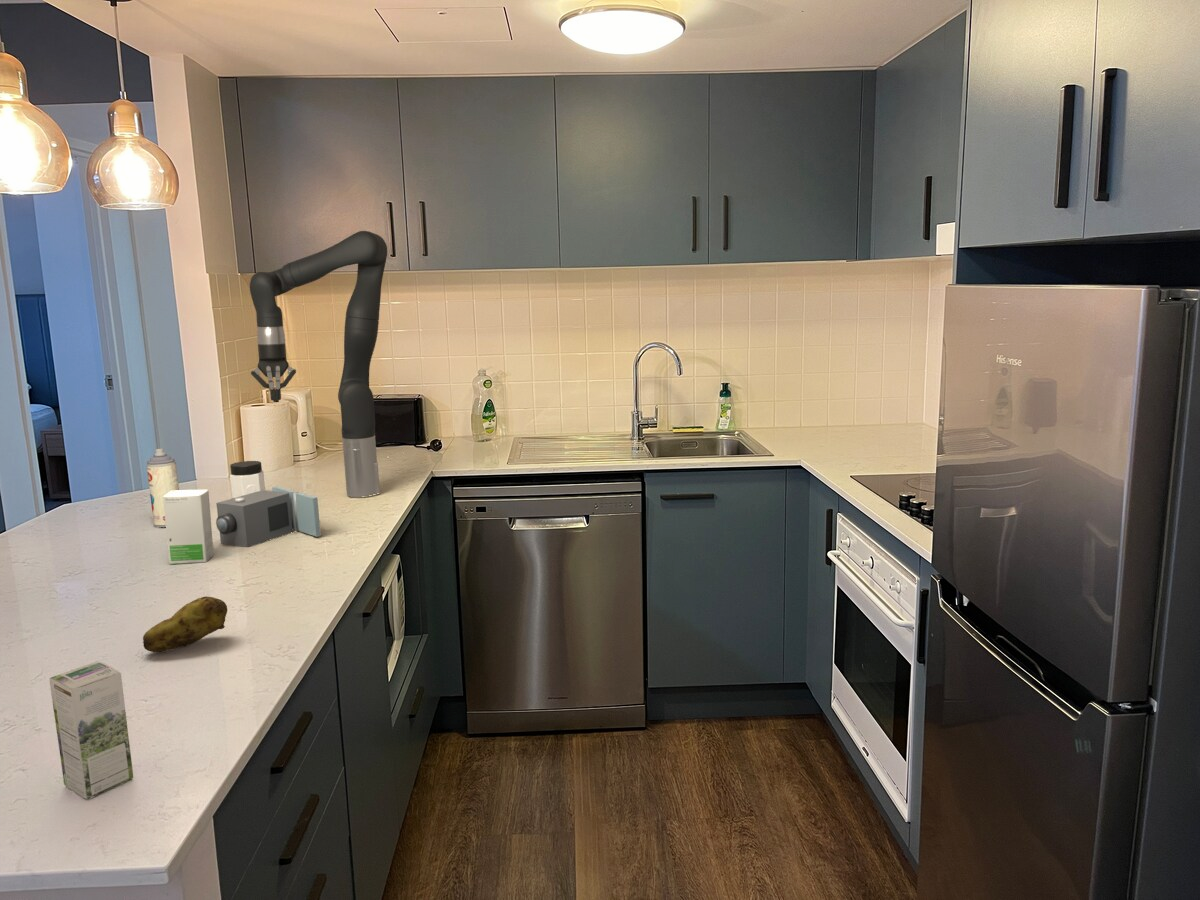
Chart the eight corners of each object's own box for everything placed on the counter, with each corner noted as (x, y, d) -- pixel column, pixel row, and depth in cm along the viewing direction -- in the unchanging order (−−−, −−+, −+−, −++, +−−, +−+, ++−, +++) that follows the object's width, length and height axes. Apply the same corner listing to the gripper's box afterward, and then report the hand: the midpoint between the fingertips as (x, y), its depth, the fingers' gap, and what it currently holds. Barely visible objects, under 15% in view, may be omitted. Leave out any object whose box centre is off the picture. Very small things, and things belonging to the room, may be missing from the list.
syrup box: (111, 765, 111) (96, 658, 108) (135, 779, 108) (120, 669, 105) (63, 787, 107) (46, 675, 104) (87, 802, 103) (70, 687, 101)
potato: (153, 641, 151) (147, 597, 150) (233, 632, 154) (228, 589, 153) (141, 660, 143) (135, 614, 142) (225, 650, 146) (220, 605, 145)
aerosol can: (155, 522, 231) (146, 448, 227) (184, 520, 233) (175, 446, 229) (152, 529, 224) (142, 452, 221) (181, 526, 226) (172, 450, 223)
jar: (236, 510, 241) (231, 467, 239) (230, 504, 248) (225, 463, 246) (270, 505, 246) (265, 463, 244) (263, 500, 253) (259, 459, 251)
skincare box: (168, 565, 194) (159, 496, 191) (177, 556, 200) (169, 490, 197) (208, 562, 195) (200, 494, 192) (216, 553, 202) (208, 487, 199)
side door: (275, 524, 225) (272, 487, 223) (280, 523, 226) (277, 486, 224) (316, 537, 211) (312, 498, 210) (321, 536, 212) (317, 497, 211)
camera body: (266, 528, 222) (262, 487, 220) (293, 532, 218) (289, 489, 216) (212, 546, 208) (207, 502, 206) (239, 550, 203) (234, 505, 201)
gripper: (295, 341, 259) (300, 399, 262) (247, 342, 255) (252, 401, 258) (295, 342, 251) (299, 402, 255) (246, 343, 247) (251, 404, 251)
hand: (276, 401), depth 256 cm, fingers closed
